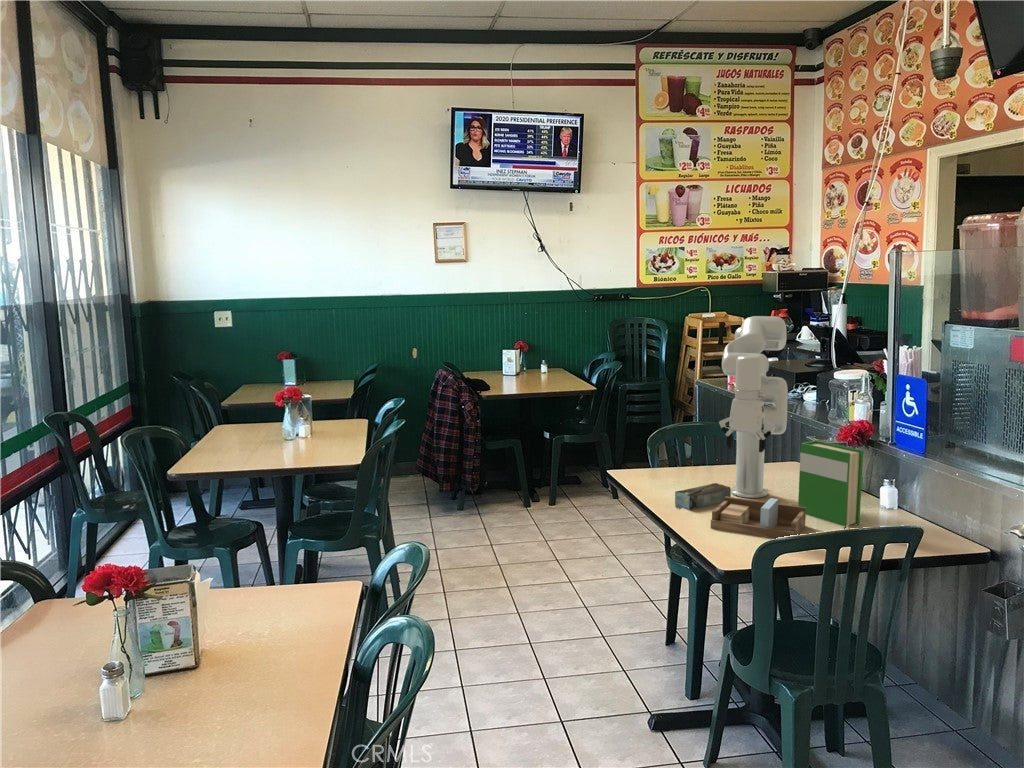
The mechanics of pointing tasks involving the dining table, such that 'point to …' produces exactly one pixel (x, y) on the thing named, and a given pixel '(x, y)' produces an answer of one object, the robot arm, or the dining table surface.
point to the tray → (787, 524)
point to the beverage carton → (701, 496)
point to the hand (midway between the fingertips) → (745, 449)
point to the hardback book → (831, 482)
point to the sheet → (769, 513)
